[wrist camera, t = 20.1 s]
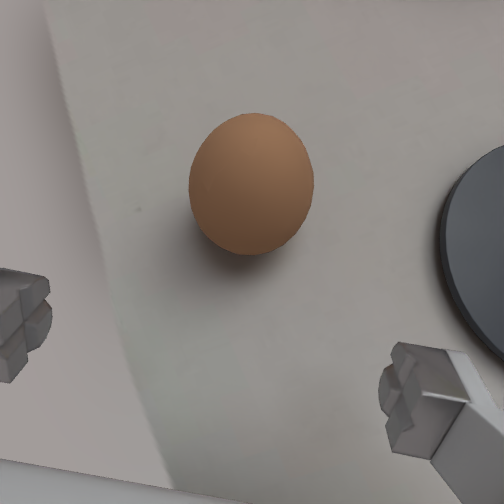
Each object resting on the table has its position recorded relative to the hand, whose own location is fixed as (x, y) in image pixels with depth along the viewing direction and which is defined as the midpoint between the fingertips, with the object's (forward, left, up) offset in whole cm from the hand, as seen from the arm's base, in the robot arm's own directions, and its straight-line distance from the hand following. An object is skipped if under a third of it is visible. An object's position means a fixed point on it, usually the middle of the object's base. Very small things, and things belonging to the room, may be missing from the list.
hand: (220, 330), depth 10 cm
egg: (+5, +4, -10) cm, 12 cm away
